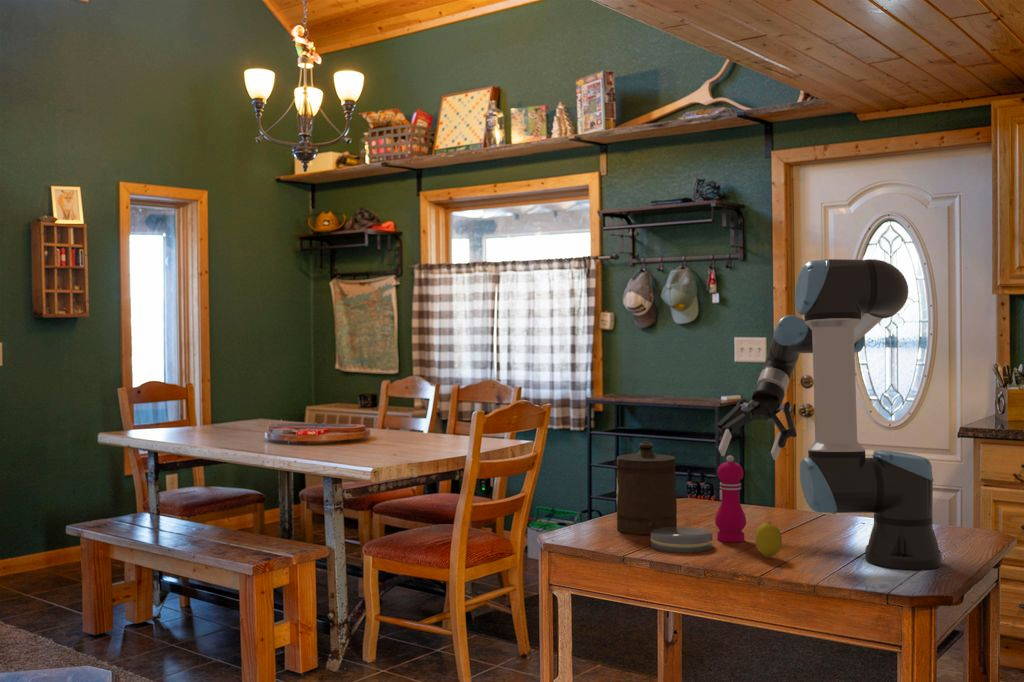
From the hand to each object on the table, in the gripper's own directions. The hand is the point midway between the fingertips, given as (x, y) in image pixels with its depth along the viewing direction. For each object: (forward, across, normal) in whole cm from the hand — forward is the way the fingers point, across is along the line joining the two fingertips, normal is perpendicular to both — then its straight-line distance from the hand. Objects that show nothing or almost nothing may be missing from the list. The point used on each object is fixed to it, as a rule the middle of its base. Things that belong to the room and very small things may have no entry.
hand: (746, 454), depth 240 cm
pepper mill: (+21, 0, -6) cm, 22 cm away
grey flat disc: (+29, +6, +2) cm, 30 cm away
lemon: (+30, -15, +2) cm, 33 cm away
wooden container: (+21, +22, -6) cm, 31 cm away
